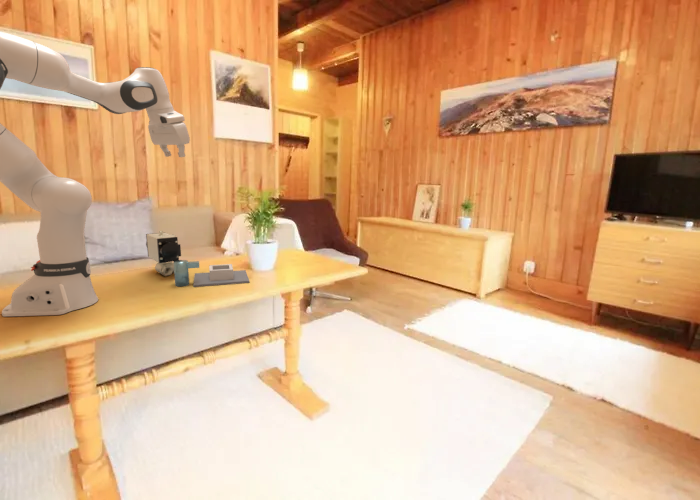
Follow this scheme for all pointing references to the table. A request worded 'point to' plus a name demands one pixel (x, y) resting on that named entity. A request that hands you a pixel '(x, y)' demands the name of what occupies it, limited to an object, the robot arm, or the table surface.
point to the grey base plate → (220, 276)
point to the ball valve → (163, 251)
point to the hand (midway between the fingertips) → (175, 156)
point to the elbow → (183, 271)
